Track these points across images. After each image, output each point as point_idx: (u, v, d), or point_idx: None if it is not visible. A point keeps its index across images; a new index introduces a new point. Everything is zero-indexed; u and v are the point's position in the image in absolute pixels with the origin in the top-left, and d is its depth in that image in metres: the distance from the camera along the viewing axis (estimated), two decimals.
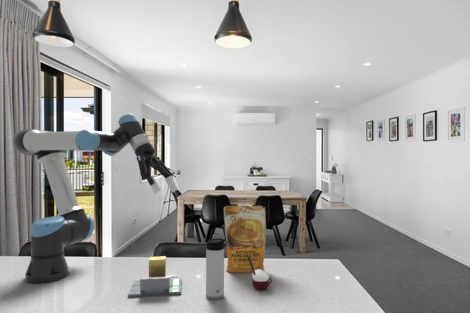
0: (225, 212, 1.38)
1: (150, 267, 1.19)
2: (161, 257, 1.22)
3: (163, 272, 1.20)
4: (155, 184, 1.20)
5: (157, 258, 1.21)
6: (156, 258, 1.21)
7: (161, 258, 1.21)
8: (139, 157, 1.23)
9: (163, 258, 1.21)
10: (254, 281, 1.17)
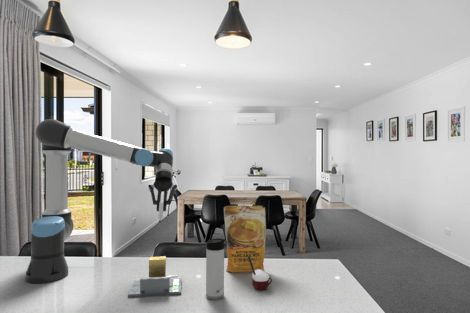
0: (225, 212, 1.38)
1: (150, 267, 1.19)
2: (161, 257, 1.22)
3: (163, 272, 1.20)
4: None
5: (157, 258, 1.21)
6: (156, 258, 1.21)
7: (161, 258, 1.21)
8: (176, 188, 1.44)
9: (163, 258, 1.21)
10: (254, 281, 1.17)
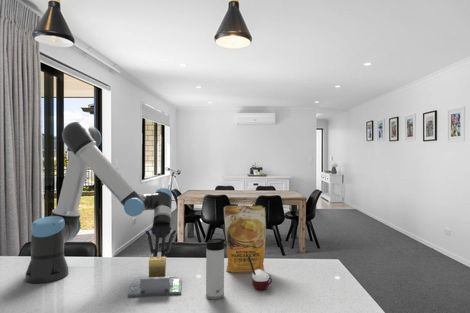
0: (225, 212, 1.38)
1: (150, 267, 1.19)
2: (161, 257, 1.22)
3: (163, 272, 1.19)
4: None
5: (157, 258, 1.21)
6: (156, 258, 1.21)
7: (161, 258, 1.21)
8: (175, 234, 1.36)
9: (163, 258, 1.21)
10: (254, 281, 1.17)
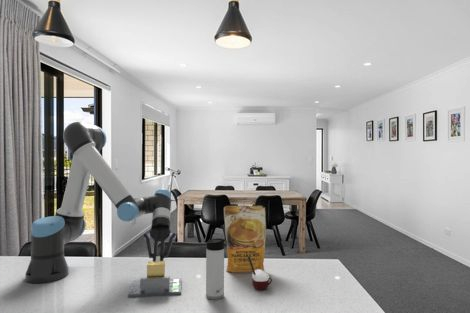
0: (225, 212, 1.38)
1: (148, 272, 1.13)
2: (159, 262, 1.16)
3: None
4: None
5: (155, 263, 1.15)
6: (154, 262, 1.16)
7: (160, 263, 1.15)
8: (174, 237, 1.31)
9: (162, 263, 1.15)
10: (254, 281, 1.17)
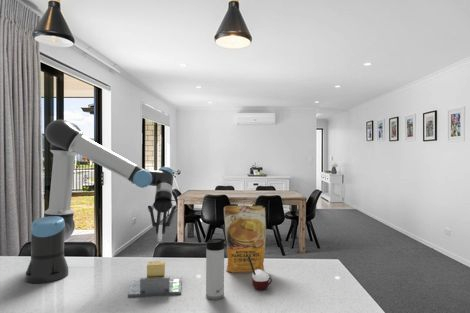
0: (225, 212, 1.38)
1: (148, 273, 1.13)
2: (159, 262, 1.16)
3: None
4: None
5: (155, 263, 1.15)
6: (154, 263, 1.15)
7: (160, 263, 1.15)
8: (176, 209, 1.43)
9: (162, 263, 1.15)
10: (254, 281, 1.17)
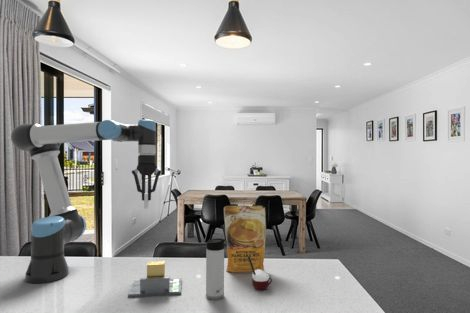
0: (225, 212, 1.38)
1: (148, 273, 1.13)
2: (159, 262, 1.16)
3: None
4: (148, 201, 1.42)
5: (155, 263, 1.15)
6: (154, 263, 1.15)
7: (160, 263, 1.15)
8: None
9: (162, 263, 1.15)
10: (254, 281, 1.17)
